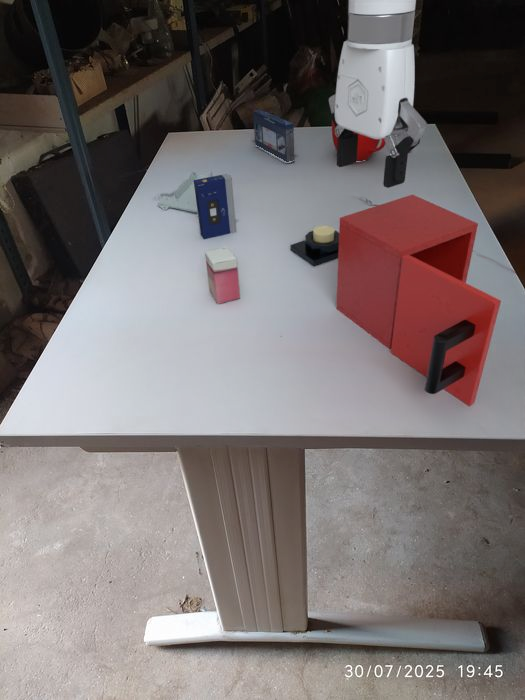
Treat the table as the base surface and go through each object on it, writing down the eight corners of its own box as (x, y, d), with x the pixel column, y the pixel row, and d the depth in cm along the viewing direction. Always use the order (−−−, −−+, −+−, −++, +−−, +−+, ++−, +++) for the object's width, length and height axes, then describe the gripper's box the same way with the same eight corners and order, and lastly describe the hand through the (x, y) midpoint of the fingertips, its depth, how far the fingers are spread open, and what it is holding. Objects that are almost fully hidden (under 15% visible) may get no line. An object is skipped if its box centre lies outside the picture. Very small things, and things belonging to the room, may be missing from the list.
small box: (208, 290, 95) (203, 250, 90) (232, 285, 96) (228, 245, 91) (217, 305, 91) (212, 263, 86) (241, 299, 92) (237, 257, 87)
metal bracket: (184, 163, 130) (237, 172, 123) (192, 184, 134) (243, 192, 128) (151, 201, 123) (205, 211, 117) (160, 221, 128) (212, 232, 121)
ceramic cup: (363, 175, 134) (365, 133, 128) (320, 158, 145) (321, 119, 139) (401, 163, 139) (405, 122, 133) (357, 147, 150) (359, 109, 144)
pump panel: (331, 236, 109) (332, 222, 107) (356, 251, 103) (357, 237, 101) (290, 250, 105) (289, 236, 103) (313, 267, 99) (314, 252, 97)
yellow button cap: (325, 232, 105) (326, 223, 103) (338, 239, 102) (338, 231, 101) (308, 237, 103) (308, 229, 102) (321, 245, 100) (321, 237, 99)
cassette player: (203, 239, 110) (196, 182, 103) (200, 235, 112) (192, 178, 105) (237, 232, 112) (232, 175, 105) (233, 227, 114) (228, 171, 107)
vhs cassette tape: (254, 146, 156) (252, 110, 150) (263, 144, 157) (261, 108, 151) (285, 165, 143) (284, 125, 136) (295, 162, 144) (294, 123, 137)
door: (438, 426, 66) (460, 322, 57) (360, 368, 76) (368, 270, 66) (474, 403, 69) (501, 300, 60) (395, 350, 79) (407, 253, 69)
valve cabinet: (458, 318, 84) (478, 223, 74) (389, 349, 79) (401, 251, 69) (401, 283, 93) (412, 194, 83) (336, 309, 88) (339, 217, 78)
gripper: (310, 26, 67) (309, 163, 78) (408, 42, 56) (392, 201, 66) (357, 19, 70) (350, 152, 81) (460, 33, 58) (436, 186, 69)
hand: (369, 174), depth 73 cm, fingers open, 9 cm apart
